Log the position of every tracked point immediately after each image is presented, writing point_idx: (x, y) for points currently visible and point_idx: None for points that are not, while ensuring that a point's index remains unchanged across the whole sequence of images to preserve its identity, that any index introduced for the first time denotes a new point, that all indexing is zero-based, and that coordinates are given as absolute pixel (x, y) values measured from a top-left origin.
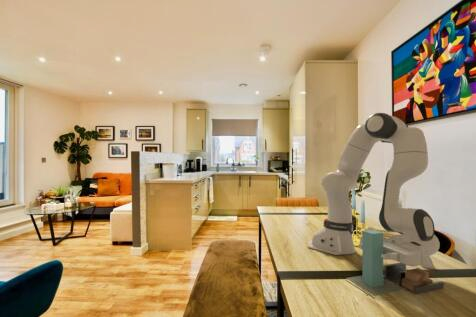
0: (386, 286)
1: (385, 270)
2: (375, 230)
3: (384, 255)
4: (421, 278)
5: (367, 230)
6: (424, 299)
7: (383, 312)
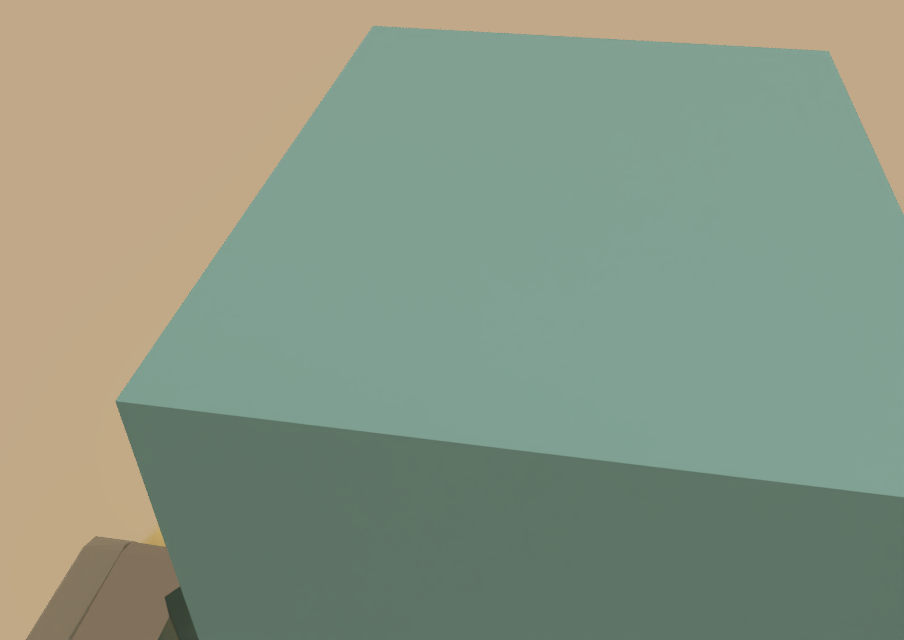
0: None
1: None
2: (774, 459)
3: (119, 544)
4: None
5: (836, 155)
6: None
7: (143, 543)
